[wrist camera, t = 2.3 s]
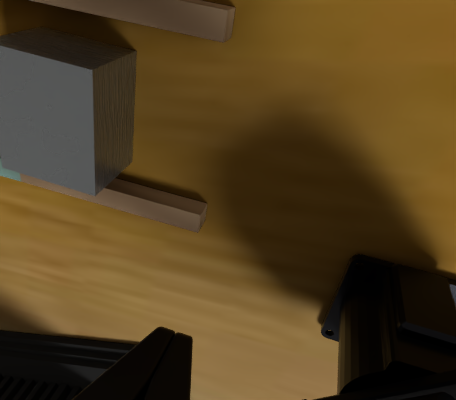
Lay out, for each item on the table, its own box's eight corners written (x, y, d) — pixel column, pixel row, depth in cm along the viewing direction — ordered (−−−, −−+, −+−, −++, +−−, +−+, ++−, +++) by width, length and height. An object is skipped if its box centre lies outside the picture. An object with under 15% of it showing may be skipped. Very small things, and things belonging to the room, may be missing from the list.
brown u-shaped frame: (204, 220, 22) (186, 253, 20) (-86, 138, 25) (-133, 157, 23) (235, 7, 16) (214, 16, 14) (-154, -72, 19) (-230, -77, 16)
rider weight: (133, 160, 22) (95, 196, 19) (53, 137, 22) (2, 167, 19) (138, 50, 18) (92, 70, 15) (43, 26, 19) (-20, 40, 16)
